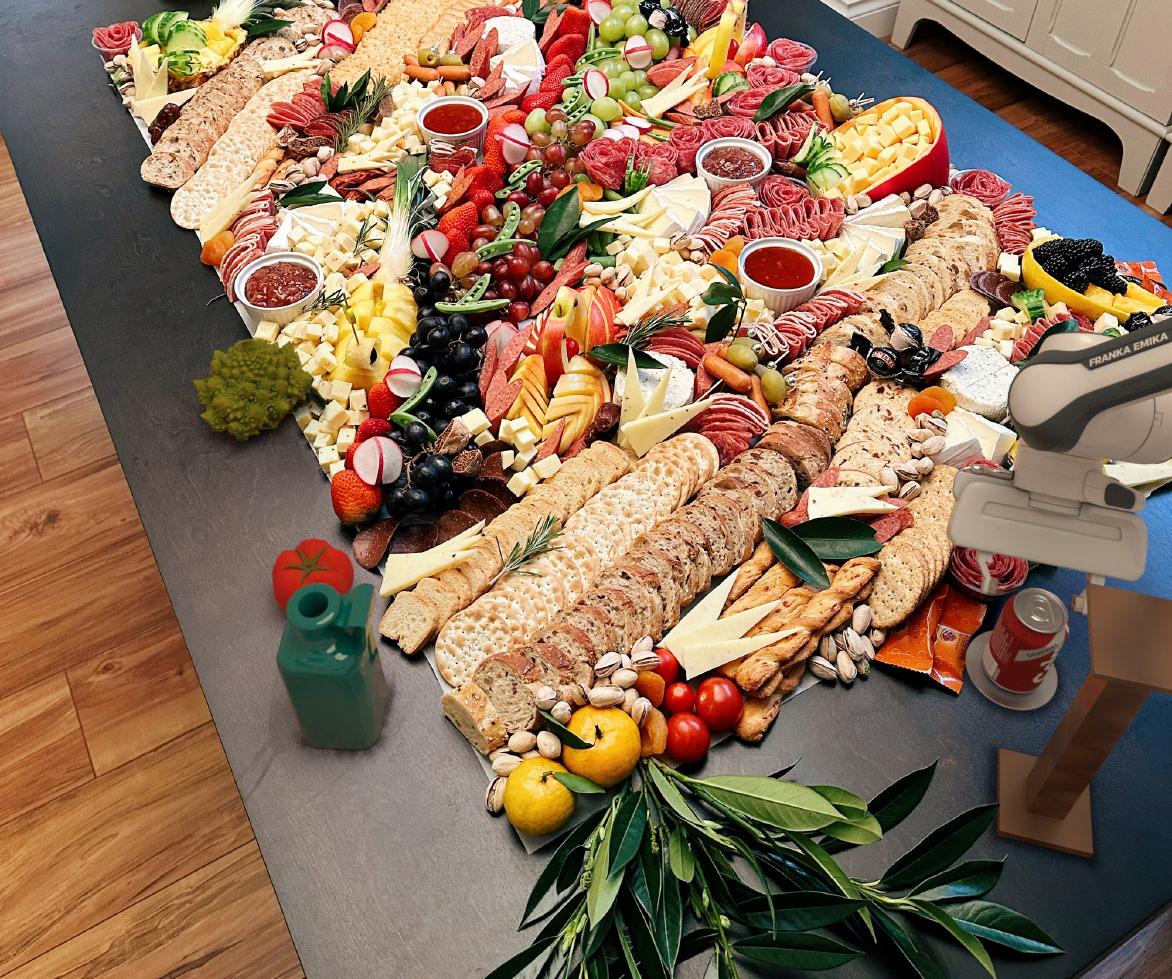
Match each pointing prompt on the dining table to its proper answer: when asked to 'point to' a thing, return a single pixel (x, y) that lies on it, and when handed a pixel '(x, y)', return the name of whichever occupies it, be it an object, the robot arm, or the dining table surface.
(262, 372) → the vegetable
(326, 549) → the tomato
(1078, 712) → the walnut stand
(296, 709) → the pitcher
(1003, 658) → the soda can
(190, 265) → the dining table surface
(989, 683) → the steel plate
